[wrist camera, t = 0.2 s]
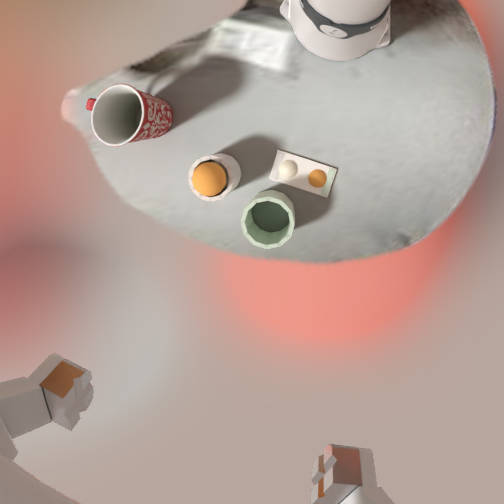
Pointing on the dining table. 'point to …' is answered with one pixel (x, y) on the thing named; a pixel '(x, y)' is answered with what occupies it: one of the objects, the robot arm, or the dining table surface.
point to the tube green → (264, 237)
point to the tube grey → (230, 170)
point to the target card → (302, 173)
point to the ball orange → (209, 179)
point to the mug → (128, 115)
